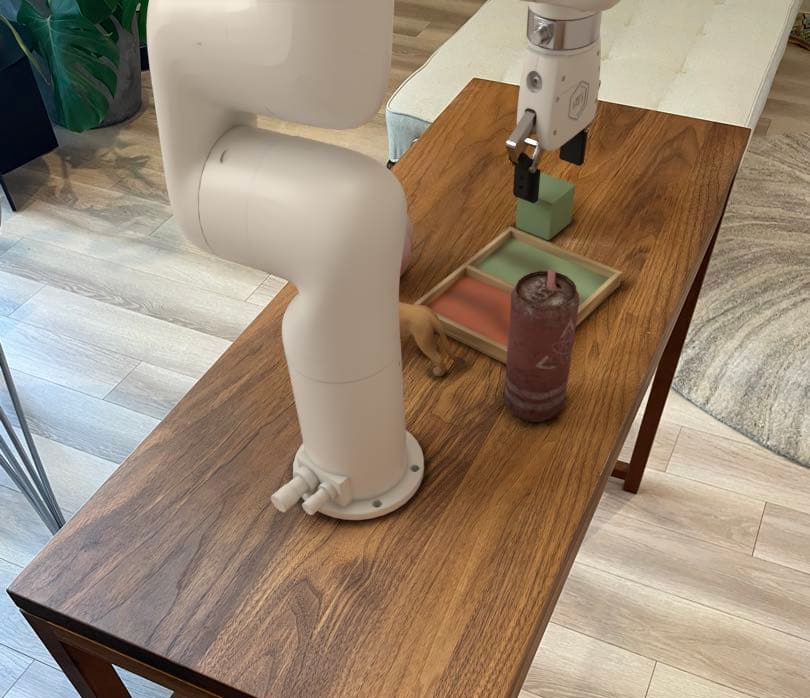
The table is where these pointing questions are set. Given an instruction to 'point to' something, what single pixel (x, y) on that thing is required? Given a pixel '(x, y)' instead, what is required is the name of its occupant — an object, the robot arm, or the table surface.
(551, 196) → the green block
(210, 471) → the table surface
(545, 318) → the can
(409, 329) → the lion figurine
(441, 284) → the sorting tray
